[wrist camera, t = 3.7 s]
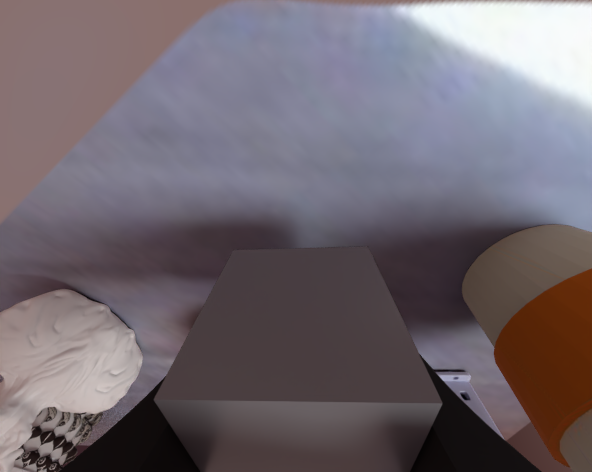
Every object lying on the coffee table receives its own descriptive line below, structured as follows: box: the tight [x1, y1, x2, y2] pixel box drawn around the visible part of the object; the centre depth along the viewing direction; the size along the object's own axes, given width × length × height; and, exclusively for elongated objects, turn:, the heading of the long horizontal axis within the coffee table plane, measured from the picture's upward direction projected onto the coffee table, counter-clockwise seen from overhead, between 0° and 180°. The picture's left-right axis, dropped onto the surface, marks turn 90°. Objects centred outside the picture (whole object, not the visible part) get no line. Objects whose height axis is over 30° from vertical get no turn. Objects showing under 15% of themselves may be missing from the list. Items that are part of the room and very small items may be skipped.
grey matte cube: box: [154, 247, 443, 472], centre depth 9 cm, size 6×6×7 cm
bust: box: [0, 289, 143, 472], centre depth 18 cm, size 12×8×11 cm
